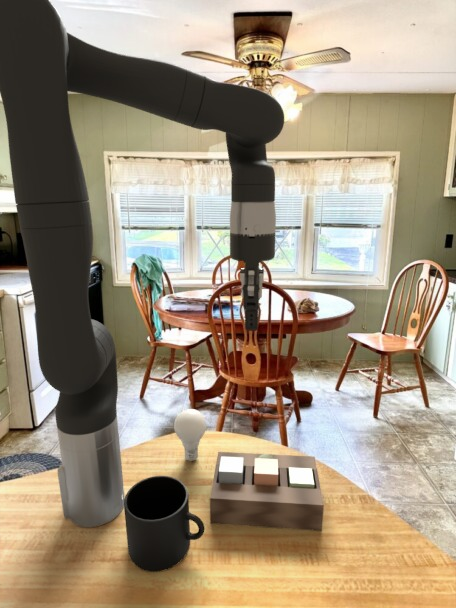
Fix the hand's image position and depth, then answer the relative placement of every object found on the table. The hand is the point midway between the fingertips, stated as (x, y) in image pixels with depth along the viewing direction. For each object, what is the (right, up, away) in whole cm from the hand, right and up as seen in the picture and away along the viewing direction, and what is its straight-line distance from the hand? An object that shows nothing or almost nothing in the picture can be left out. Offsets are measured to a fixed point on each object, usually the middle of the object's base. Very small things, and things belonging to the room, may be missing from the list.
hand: (251, 329), depth 71 cm
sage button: (+8, -29, -1) cm, 30 cm away
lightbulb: (-12, -27, +11) cm, 32 cm away
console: (+2, -30, 0) cm, 30 cm away
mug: (-13, -33, -9) cm, 37 cm away
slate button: (-4, -28, 0) cm, 28 cm away
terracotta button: (+2, -28, -1) cm, 28 cm away
